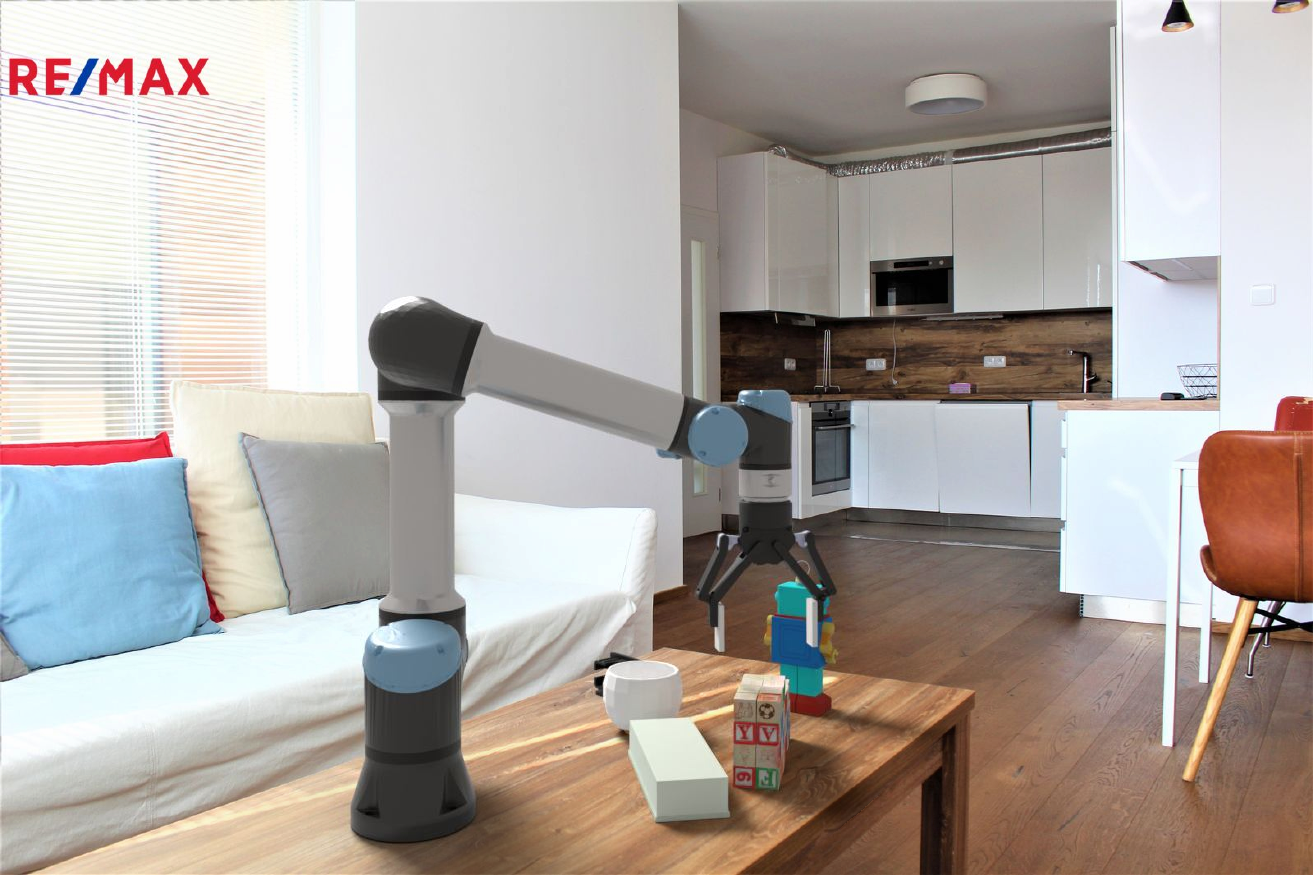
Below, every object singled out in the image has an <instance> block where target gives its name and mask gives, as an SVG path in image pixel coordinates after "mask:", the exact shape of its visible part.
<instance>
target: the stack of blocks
mask: <svg viewBox="0 0 1313 875" xmlns="http://www.w3.org/2000/svg"><path fill="white" fill-rule="evenodd" d="M732 723H733V727H732V728H733V730H732V735H733V736H732V739H733V740H732V741H733V742H732V743H733V762H732V763H733V764H732V787H733V788H734V787H735V788H744V789H745V788H746V789H758V790H759V789H761V790H773V791H779V788H780V785H781V782H782V780H783V774H784V770H785V762H786V754H787V751H788V750H789V745H790V739H791V711H790V699H789V679H785V676H780V675H778V674H777V675H775V674H772V675H771V674H754V673H753V674H752V673H744V674H743V676H742V679H741V682H740V685H739V686H738V689H737V691H736V692H735V695H734V697H733V722H732Z"/></svg>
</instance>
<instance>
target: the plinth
mask: <svg viewBox="0 0 1313 875" xmlns="http://www.w3.org/2000/svg"><path fill="white" fill-rule="evenodd" d="M628 735H629V744H628V745H629V747H628V748H629V749H627V756H628V757H629V761H630V762H631V766H632V768H633V770H634V773H635V775H636V778H637V781H638V783H639V785H640V788H641V791H642V793H643V795H644V797H645V800H646V802H647V805H648V807H649V811H650V813H651V815H652V817H653V821H654V822H655V823H664V822H665V823H666V822H667V823H668V822H679V821H681V822H682V821H694V820H695V821H696V820H711V819H722V818H723V819H725V818H727V819H728V818H730V817H731V812H730V810H729V776H728V774H727V773H726V771H725V770H724V768H723V766H722V765H721V763H719V762H720V761H719V760H718V758H717V757H716V756H715V754H714V753H713V751H712V750H711V747H710V746H709V745H708V743H707V742H706V739H705V738H704V736H703V735H702V734H701V732H700V730H699V729H698V727H697V725H696V724H695V722H694V721H693V720H692V718H691V717H688V716H687V717H676V718H666V719H646V720H630V731H629V734H628Z"/></svg>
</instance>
